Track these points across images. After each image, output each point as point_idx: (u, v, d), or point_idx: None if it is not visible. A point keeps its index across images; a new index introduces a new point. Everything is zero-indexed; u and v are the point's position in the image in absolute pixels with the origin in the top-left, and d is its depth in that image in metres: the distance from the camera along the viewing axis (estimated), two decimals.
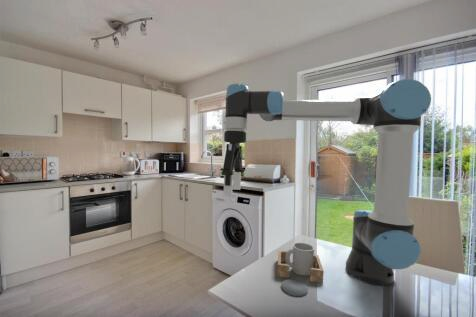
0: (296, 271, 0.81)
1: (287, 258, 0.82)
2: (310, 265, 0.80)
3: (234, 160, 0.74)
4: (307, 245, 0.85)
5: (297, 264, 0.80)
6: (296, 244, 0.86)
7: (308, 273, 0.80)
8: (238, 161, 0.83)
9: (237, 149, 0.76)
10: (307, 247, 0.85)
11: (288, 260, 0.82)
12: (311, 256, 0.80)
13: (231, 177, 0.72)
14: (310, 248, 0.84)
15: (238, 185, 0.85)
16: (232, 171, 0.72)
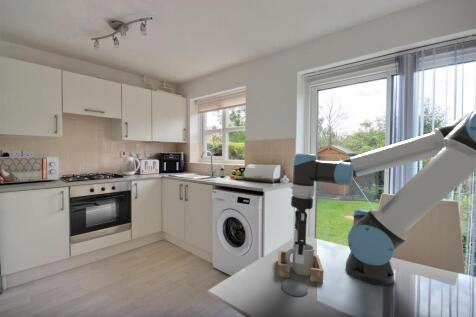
0: (296, 271, 0.81)
1: (287, 258, 0.82)
2: (311, 265, 0.80)
3: None
4: (307, 245, 0.85)
5: (297, 264, 0.80)
6: None
7: (308, 273, 0.80)
8: None
9: None
10: (307, 247, 0.85)
11: (288, 260, 0.82)
12: (311, 256, 0.80)
13: (303, 246, 0.76)
14: (310, 248, 0.84)
15: None
16: None
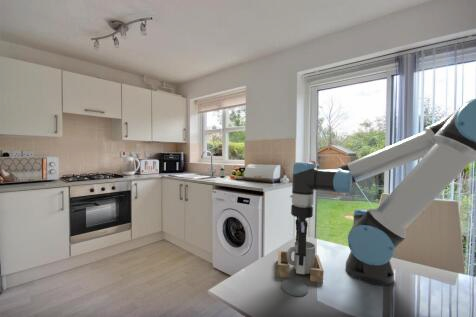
0: None
1: (288, 256, 0.82)
2: (312, 263, 0.79)
3: None
4: (308, 243, 0.85)
5: None
6: (297, 242, 0.85)
7: None
8: None
9: (306, 225, 0.80)
10: (308, 245, 0.85)
11: (289, 258, 0.82)
12: (313, 254, 0.79)
13: (304, 257, 0.78)
14: (311, 246, 0.84)
15: None
16: None
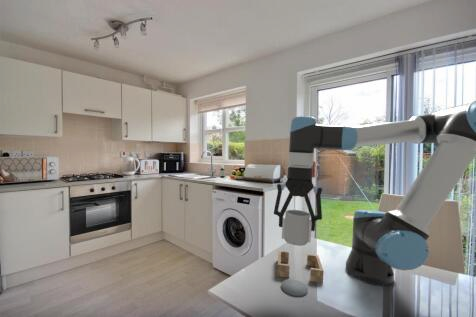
0: None
1: None
2: (288, 231, 0.69)
3: (286, 201, 0.71)
4: None
5: None
6: (305, 213, 0.72)
7: (285, 239, 0.70)
8: (306, 203, 0.71)
9: (292, 187, 0.71)
10: None
11: None
12: (289, 221, 0.69)
13: (282, 219, 0.72)
14: None
15: None
16: (282, 213, 0.72)
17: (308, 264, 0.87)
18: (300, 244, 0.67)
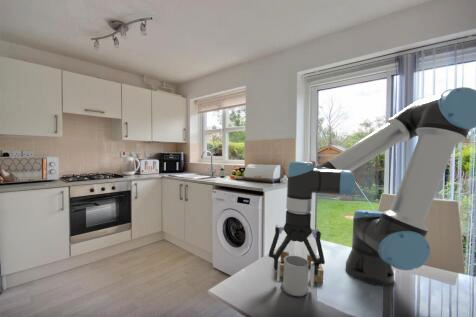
0: None
1: None
2: (287, 281, 0.68)
3: (283, 244, 0.71)
4: None
5: None
6: (303, 259, 0.72)
7: (284, 288, 0.69)
8: (307, 248, 0.70)
9: (290, 232, 0.70)
10: None
11: None
12: (287, 270, 0.68)
13: (277, 262, 0.72)
14: None
15: (310, 280, 0.70)
16: (278, 256, 0.71)
17: None
18: (299, 295, 0.67)
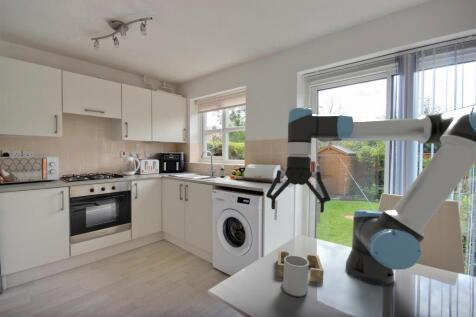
0: None
1: None
2: (287, 281, 0.68)
3: (282, 186, 0.74)
4: None
5: None
6: (303, 259, 0.72)
7: (284, 288, 0.69)
8: None
9: (292, 175, 0.74)
10: None
11: None
12: (288, 270, 0.68)
13: (274, 201, 0.75)
14: None
15: (317, 218, 0.73)
16: (275, 196, 0.75)
17: None
18: (299, 295, 0.67)
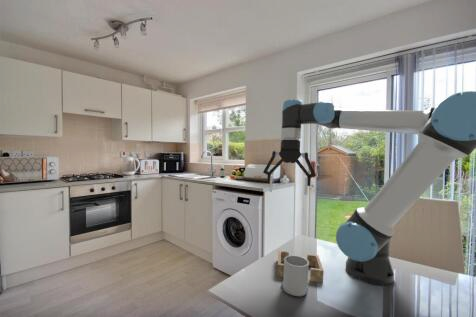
0: None
1: None
2: (287, 281, 0.68)
3: (277, 164, 0.91)
4: None
5: None
6: (303, 259, 0.72)
7: (284, 288, 0.69)
8: (299, 166, 0.89)
9: (284, 155, 0.90)
10: None
11: None
12: (288, 270, 0.68)
13: (270, 177, 0.92)
14: None
15: (304, 190, 0.89)
16: (270, 172, 0.91)
17: None
18: (299, 295, 0.67)
